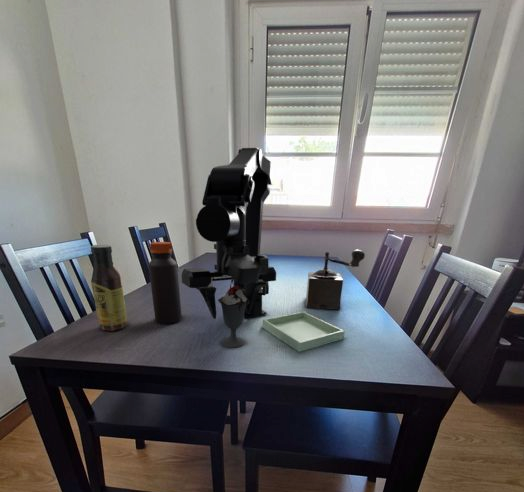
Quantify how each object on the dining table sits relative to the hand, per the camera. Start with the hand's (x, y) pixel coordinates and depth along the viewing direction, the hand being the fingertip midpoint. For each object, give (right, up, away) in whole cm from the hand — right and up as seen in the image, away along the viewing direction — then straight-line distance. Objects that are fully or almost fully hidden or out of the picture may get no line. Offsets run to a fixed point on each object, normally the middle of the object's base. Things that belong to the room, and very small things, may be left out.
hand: (231, 315), depth 60 cm
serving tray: (+16, -4, +9) cm, 19 cm away
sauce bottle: (-30, -3, +10) cm, 32 cm away
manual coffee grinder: (+28, +3, +30) cm, 42 cm away
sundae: (0, -6, +3) cm, 7 cm away
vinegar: (-19, -1, +16) cm, 24 cm away
